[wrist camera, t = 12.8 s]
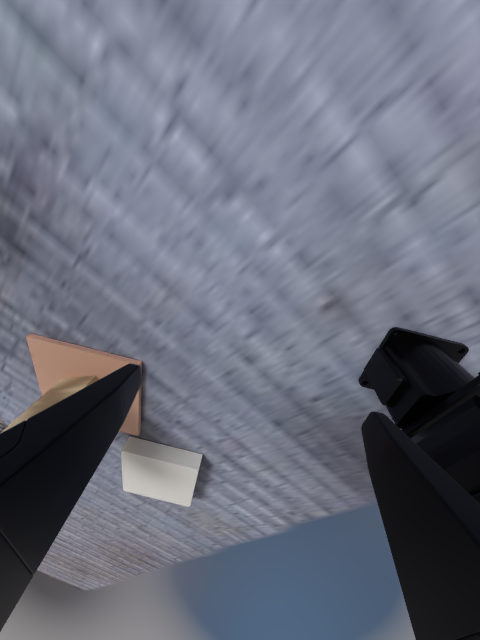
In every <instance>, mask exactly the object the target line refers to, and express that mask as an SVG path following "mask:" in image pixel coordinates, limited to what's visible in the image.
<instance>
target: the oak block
mask: <svg viewBox="0 0 480 640" xmlns="http://www.w3.org/2000/svg"><path fill="white" fill-rule="evenodd" d="M96 381H98V378H97V376H96V375H94V376H83V377H72V378H62V379H61V380H59V381H58V382H57V383H56V384H55V385H54V386H53V387H52V388H50V389H49V390H48V391H47V392H46V393H45V394H44V395H43V396H41V397H40V398H39V399H38V400H37V401H36V402H35V403H34V404H32V405H31V406H30V407H29V408H28V409H27V410H26V411H25V412H23V413H22V414H21V415H20V416H19V417H18V418H17V419H16V420H14V421H13V422H12V423H11V424H10V425H9V426H8V427H7V428H5V429H4V430H3V431H2V432H4V431H6V430H8V429H10V428H12V427H13V426H15V425H17V424H19V423H21V422H22V421H25V420H26V421H27V419H28V418H30V417H32V416H34V415H35V414H37V413H39V412H41V411H43V410H45V409H46V408H48V407H50V406H52V405H54V404H56V403H57V402H59V401H61V400H63V399H65V398H66V397H68V396H70V395H72V394H74V393H76V392H77V391H79V390H81V389H83V388H85V387H87V386H88V385H90V384H92V383H94V382H96ZM2 432H1V433H2Z"/></svg>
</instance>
